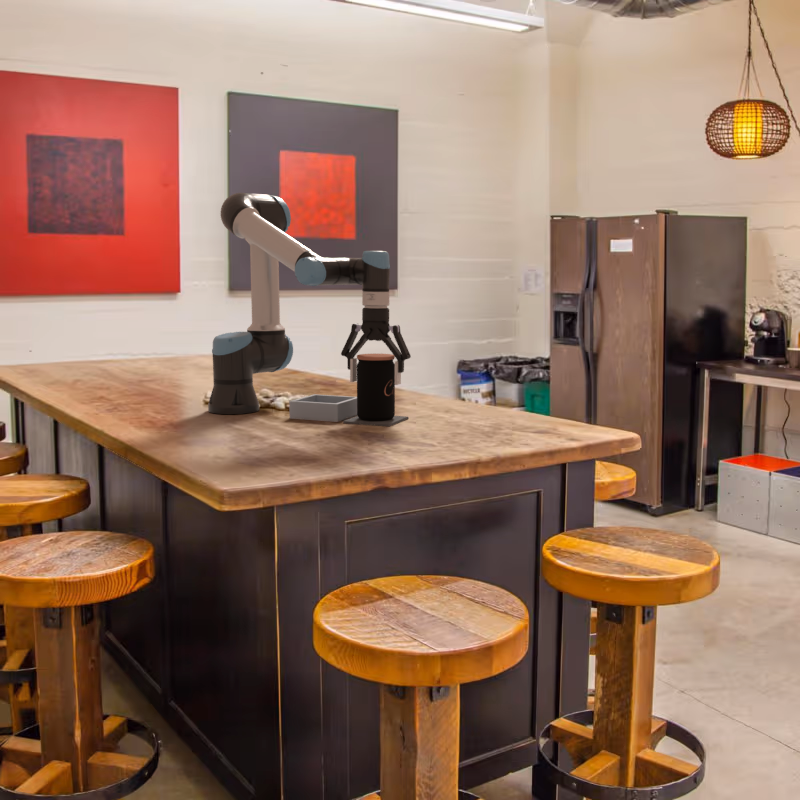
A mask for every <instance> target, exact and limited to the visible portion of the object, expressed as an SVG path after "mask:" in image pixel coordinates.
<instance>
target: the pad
mask: <svg viewBox="0 0 800 800" xmlns="http://www.w3.org/2000/svg"><path fill="white" fill-rule="evenodd" d="M408 419H409V416H405V415H402V416H401V415H394V417H393V418H392V420H388V421H363V420H360V419H359V417H358V416H357V415H356V416H353V417H350V418H347V419H344V420H342V424H350V425H351V424H352V425H362V426H364V425H366V426H378V427H391V425H392V426H394V425H396V423H397V424H399V423H402V422H403V421H406V420H408Z"/></svg>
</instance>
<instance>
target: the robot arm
mask: <svg viewBox="0 0 800 800" xmlns="http://www.w3.org/2000/svg"><path fill="white" fill-rule="evenodd" d="M291 217H292V216H291V211H290V208H289V206H288V204H287V202H286V201H284V200H283V198H281V197H279V196H277V195H271V194H266V193H265V194H262V193H247V192H237V193H234V194H231V195H229V196H228V197H227V198H226V199H225V200H224V202H223V203H222V205H221V208H220V218H221V219H220V220H221V222H222V224H223V226H224V227H225V228H226V229H227V231H229V232H230V233H231V234H233V235H234V236H236V237H237V238H239V239H243V240H245V242H247V243H248V245H249V248H250V249H249V250H250V251H249V255H250V260H249V261H250V291H251V292H250V296H251V298H250V299H251V324H250V325H249V326H248V328H247V329H246V330H247V331H234V332H226V333H222V334H218V335H217V336H215V337H213V340H212V349H211V353H212V368H213V369H212V371H213V372H212V376H213V378H212V379H213V386H212V391H211V394H210V397H209V401H208V404H207V405H208V406H207V409H208V412H209V413H211V414H218V415H243V414H244V415H245V414H251V413H256V412H258V411H260V402H259V398H258V396H257V394H256V390H255V388H254V383H253V381H254V379H253V377H254V374H261V373H274V372H278V371H281V370H284V369H285V368H287V366H288V365H289V364H290V363H291V361H292V358H293V355H294V344H293V341H291V338H290V336H289V335H288V334H286V328H285V327H284V326H283V325H282V324H281V318H280V317H281V314H280V313H281V311H280V272H279V271H280V267H279V265H280V264H279V262H280V263H281V264H282V265H284V266H286V267H287V268H288V269H290V271H293V272H294V276H295V277H296V279H297V281H298V283H300V284H302V285H304V286H310V287H315V286H337V285H338V286H339V285H340V286H341V285H343V286H345V285H346V286H350V285H351V286H358V285H359V286H362V287H361V288H362V296H361V297H362V303H361V304H362V306H364V307H362V310H361V311H362V312H361V313H362V314H361V315H362V317H361V318H362V319H361V320H362V324H359V323H357V322H356V323H352V324H351V329H350V330H351V331H350V333H349V335H348V338H347V340H346V342H345V344H344V346H343V348H342V350H341V352H340V355H341V356H343V357H345V358H347V370H349V371H350V372H349V379H350V380H349V381H350V382H349V383H354V382H357V364H358V362H357V361H358V359H357V357H355V356H357V355H358V352H360V350H361V348H363V347H364V346H365V344H366V343H367V342H368V341H375V342H376V341H377V342H381V341H382V342H383V344H384V345H386V347H387V348H388V349H389V351H390V352H391V354H392V355H394V356H395V359H396V361H394V364H395V386H398V385H401V384H402V373H404V371H405V361H406V360H409V359H410V358H412V357H411V353H410V351H409V349H408V346H407V345H406V342H405V340H404V338H403V335H402V333H401V327H400V325H399V324H396V325H390V309H389V307H388V306H390V272H391V265H390V254H389V252H388V251H386V250H365V251H363V252H362V257H344V256H343V257H323V256H320V255H319V254H317V253H316V252H314V251H312V249H310V248H308V247H307V246H305V245H303V244H302V243H301V242H299V241H298V240H296V239H295V238H293V237H292V236H290V235H289V234H287V233H286V232H288V230H289V227H290V225H291V220H292V218H291ZM360 331H362V333H363V334H362V335H361V336H360V338H359V340H358V341H357V342H356V343H355V340H356V338H357V336H358V334H359V332H360ZM389 332H391V333H392V334H393V337H394V339H395V342H396V344H397V345H396V344H395V342H394V341H393V340H392V337H391V336H390V335H389ZM354 343H355V344H354ZM353 345H354V346H353Z"/></svg>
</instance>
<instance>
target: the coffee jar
mask: <svg viewBox="0 0 800 800" xmlns="http://www.w3.org/2000/svg"><path fill="white" fill-rule="evenodd" d="M356 358H357V361H358V362H357V381H356V397H357V415H356V416H358V417H359V419H360V420H363V421H388V420H392V418H393V417H394V416H396V415H395V414H396V411H395V410H396V399H395V398H396V397H395V396H396V394H395V393H396V392H395V391H396V385H395V361H394V359H396V357H395V356H394V355H393V353H361V354H356Z"/></svg>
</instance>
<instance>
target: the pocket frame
mask: <svg viewBox="0 0 800 800" xmlns="http://www.w3.org/2000/svg"><path fill="white" fill-rule="evenodd" d="M288 403H289V405H288V406H289V407H288V408H289V416H288V417H289V419H293V420H294V419H295V420H306V421H307V420H310V421H320V422H321V421H322V422H323V421H324V422H335V423H338V422H341V421H342V422H343V421H344V420H347V419H350V418H353V417H356V416H357V396H350V395H349V396H348V395H333V394H316V393H314V394H310V395H306V396H303V397H299V398H296V399H292V400H289V401H288Z"/></svg>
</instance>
